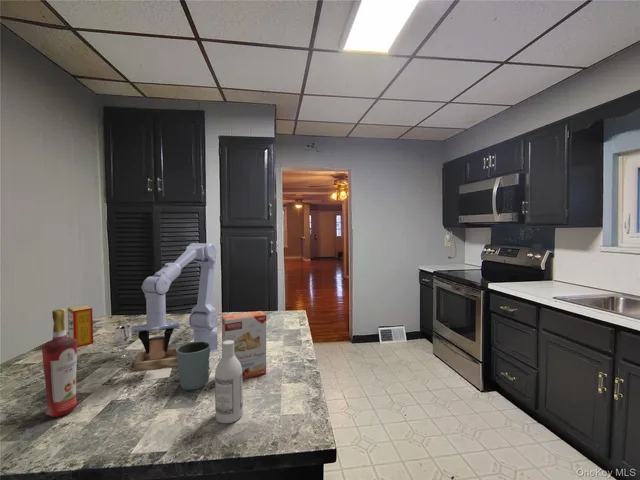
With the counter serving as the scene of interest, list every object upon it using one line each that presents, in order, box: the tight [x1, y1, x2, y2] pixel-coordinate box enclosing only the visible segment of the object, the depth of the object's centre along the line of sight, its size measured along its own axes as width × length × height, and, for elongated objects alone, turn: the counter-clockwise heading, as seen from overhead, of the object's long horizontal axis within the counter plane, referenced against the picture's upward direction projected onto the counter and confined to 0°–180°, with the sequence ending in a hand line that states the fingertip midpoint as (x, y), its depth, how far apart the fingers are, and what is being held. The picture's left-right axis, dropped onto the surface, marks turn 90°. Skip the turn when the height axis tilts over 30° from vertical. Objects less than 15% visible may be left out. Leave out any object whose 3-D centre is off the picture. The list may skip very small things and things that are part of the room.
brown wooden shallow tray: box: [133, 347, 179, 373], centre depth 114 cm, size 15×11×3 cm
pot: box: [149, 335, 166, 359], centre depth 104 cm, size 5×5×6 cm
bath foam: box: [214, 340, 244, 424], centre depth 81 cm, size 7×7×20 cm
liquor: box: [41, 308, 79, 418], centre depth 83 cm, size 7×7×28 cm
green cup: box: [176, 340, 211, 391], centre depth 99 cm, size 10×10×12 cm
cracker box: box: [221, 310, 267, 380], centre depth 104 cm, size 14×6×21 cm, turn 117°
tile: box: [141, 367, 173, 382], centre depth 104 cm, size 8×7×1 cm
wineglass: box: [113, 325, 133, 359], centre depth 118 cm, size 6×6×12 cm
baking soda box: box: [67, 304, 94, 348], centre depth 134 cm, size 10×6×16 cm
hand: (157, 351), depth 104 cm, fingers closed on pot, 5 cm apart
